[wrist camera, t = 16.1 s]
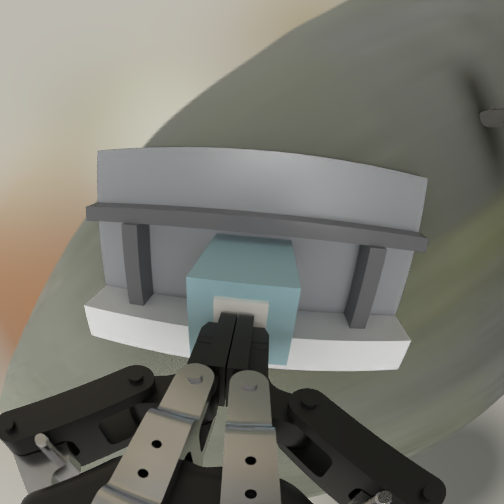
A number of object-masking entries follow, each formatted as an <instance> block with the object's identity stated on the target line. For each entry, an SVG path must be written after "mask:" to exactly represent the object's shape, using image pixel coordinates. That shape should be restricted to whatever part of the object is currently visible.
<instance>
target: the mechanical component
mask: <svg viewBox="0 0 504 504" xmlns="http://www.w3.org/2000/svg"><path fill="white" fill-rule="evenodd" d="M479 117H480V121H481V123H482V125H483V126H485V127H504V109H489V110H486V111H482V112H481V113H480V114H479Z"/></svg>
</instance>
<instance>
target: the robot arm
mask: <svg viewBox="0 0 504 504" xmlns="http://www.w3.org/2000/svg"><path fill="white" fill-rule="evenodd" d="M253 324H254V316H252V315H242V314H238V318H237V314H232V313H224V312H221V314H220V317H219V320H218V323H216V322H209V321H208V322H207V323H206V324H205V325H204V326H202V327H201V330H200V332H199V335H198V337H197V340H196V342H195V345H194V347H193V350H192V353H191V355H190V358H189V360H188V363H187V365H184V366H182V367H181V368H180V369H179V370H178V371H177V373H176V374H174V375H169V376H154V374H153V372H152V371H151V370H150V369H149V368H147V367H145V366H141V365H133V366H129V367H126V368H124V369H121V370H119V371H116V372H114V373H112V374H109V375H107V376H104V377H102V378H99V379H97V380H94V381H92V382H89V383H87V384H84V385H81V386H79V387H76V388H74V389H71V390H68V391H66V392H63V393H60V394H57V395H55V396H52V397H49V398H46V399H43V400H40V401H38V402H35V403H32V404H29V405H26V406H23V407H20V408H16V409H13V410H10V411H7V412H4V413H2V414H1V415H0V439H1V440H2V441H3V442H4V443H5V444H6V445H7V446H8V448H9V449H10V450H11V451H12V453H13V454H14V457H15V460H16V463H17V466H18V469H19V471H20V474H21V477H22V479H23V482H24V484H25V487H26V489H27V492H28V495H27V496H26V497H25V498H24V500H23V501H22V503H21V504H313V503H312V502H311V501H310V500H309V499H308V498H307V497H306V496H305V495H304V494H303V493H302V492H301V491H300V490H299V489H297V488H296V487H295V486H293V485H292V484H290V483H288V482H287V481H285V480H283V479H280V478H279V467H278V453H277V444H278V446H279V448H280V449H281V450H282V451H283V452H284V453H285V454H286V455H287V456H288V457H289V458H290V459H291V460H292V461H293V462H294V463H295V464H296V465H297V466H298V467H299V468H300V469H301V470H302V471H303V472H304V473H305V474H306V475H307V476H308V477H309V478H310V479H312V480H313V481H314V482H315V483H316V484H317V485H318V486H319V487H320V488H321V489H323V490H324V491H325V492H326V493H327V494H328V495H329V496H331V497H332V498H333V499H334V500H335V501H337V502H338V503H339V504H442V503H443V501H444V499H445V496H446V488H445V485H444V483H443V482H442V481H441V480H440V479H439V478H437V477H436V476H434V475H432V474H431V473H429V472H428V471H426V470H425V469H423V468H422V467H420V466H419V465H417V464H416V463H414V462H413V461H411V460H410V459H408V458H407V457H405V456H404V455H403V454H401V453H400V452H398V451H397V450H395V449H394V448H393V447H391V446H390V445H389V444H387V443H386V442H384V441H383V440H382V439H380V438H379V437H378V436H376V435H375V434H374V433H372V432H371V431H370V430H368V429H367V428H366V427H364V426H363V425H362V424H360V423H359V422H358V421H356V420H355V419H354V418H353V417H351V416H350V415H349V414H347V413H346V412H345V411H344V410H342V409H341V408H340V407H339V406H337V405H336V404H335V403H334V402H332V401H331V400H330V399H329V398H327V397H326V396H325V395H324V394H323V393H321V392H319V391H317V390H314V389H309V388H305V389H300V390H297V391H295V392H294V393H293V394H291V393H288V392H285V391H282V390H279V389H278V388H276V387H275V386H273V385H272V383H271V382H270V380H269V378H268V361H269V334H268V332H267V331H266V329H265V328H262V327H253ZM225 400H226V407H228V408H227V421H226V428H225V441H224V454H223V467H202V465H203V457H204V453H205V450H206V447H207V444H208V441H209V438H210V435H211V432H212V429H213V426H214V422H215V416H216V414H217V409H218V406H224V405H225ZM127 446H128V447H127ZM125 447H127V449H126V451H125V453H124V455H122V456H119V457H116V458H113V459H111V460H109V461H107V462H105V463H103V464H101V465H99V466H96V467H94V468H92V469H90V470H88V471H85V472H83V473H81V474H80V472H81V466H84V465H86V464H89V463H91V462H94V461H96V460H98V459H101V458H103V457H105V456H108V455H110V454H112V453H114V452H116V451H119V450H121V449H123V448H125Z"/></svg>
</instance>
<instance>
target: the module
mask: <svg viewBox="0 0 504 504" xmlns="http://www.w3.org/2000/svg"><path fill="white" fill-rule="evenodd" d="M186 289H187V313H188V331H189V345H190V354H191V353H192V350H193V347H194V345H195V342H196V340H197V337H198V335H199V332H200V330H201V327H202V326H204V325H205V324H206V323H207V322H208V321H209V322H216V323H218V320H219V317H220V314H221V312H224V313H232V314H237V318H238V314H242V315H252V316H254V324H253V327H262V328H265V329H266V331H267V332H268V334H269V361H268V364H274V365H287V361H288V356H289V351H290V346H291V341H292V336H293V331H294V326H295V320H296V315H297V309H298V304H299V298H300V292H301V286H300V281H299V276H298V270H297V265H296V260H295V255H294V251H293V246H292V241H291V240H283V239H273V238H262V237H251V236H240V235H229V234H216V235H215V237H214V238H213V239H212V241H211V242H210V244H209V245H208V246H207V248H206V249H205V251H204V252H203V253H202V255H201V256H200V258H199V259H198V261H197V262H196V263H195V265H194V266H193V268H192V269H191V271H190V272H189V274H188V275H187V276H186Z"/></svg>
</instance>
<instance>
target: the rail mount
mask: <svg viewBox="0 0 504 504" xmlns="http://www.w3.org/2000/svg"><path fill="white" fill-rule="evenodd" d="M97 160H98V161H97V191H98V192H97V193H98V203H95V204H92V205H90V206H87V207H86V217H87V220H90V221H99V230H100V242H101V251H102V260H103V268H104V275H105V282H106V286H105V287H104V288H102V289H101V290H100V291H99V292H98V293H97V294H96V295H95V296H93V297H92V298H91V299H90V300H89V301H88V302H87V303H86V304H85V305H84V308H85V312H86V316H87V320H88V324H89V327H90V331H91V335H93V336H97V337H100V338H104V339H107V340H111V341H115V342H119V343H123V344H127V345H131V346H135V347H139V348H143V349H148V350H152V351H157V352H162V353H167V354H172V355H177V356H182V357H188V358H190V355H191V354H190V345H189V331H188V313H187V289H186V276H187V275H188V274H189V272H190V271H191V269H192V268H193V266H194V265H195V263H196V262H197V261H198V259H199V258H200V256H201V255H202V253H203V252H204V251H205V249H206V248H207V246H208V245H209V244H210V242H211V241H212V239H213V238H214V237H215V235H216V234H229V235H240V236H251V237H262V238H273V239H283V240H291V241H292V246H293V251H294V255H295V260H296V265H297V270H298V276H299V281H300V286H301V292H300V298H299V304H298V309H297V315H296V320H295V326H294V331H293V336H292V341H291V346H290V351H289V356H288V361H287V365H274V364H268V368H276V369H291V370H313V371H372V370H393V369H398V368H399V366H400V364H401V362H402V360H403V357H404V355H405V353H406V351H407V349H408V347H409V344H410V342H411V339H410V338H409V336H408V335H407V333H406V332H405V330H404V328H403V327H402V325H401V324H400V322H399V321H398V319H397V318H396V316H395V314H396V311H397V308H398V305H399V302H400V299H401V296H402V293H403V290H404V287H405V283H406V280H407V276H408V273H409V269H410V266H411V262H412V258H413V254H414V251H417V252H425V253H426V249H427V245H428V241H429V238H427V237H425V236H424V235H422V234H421V233H419V228H420V223H421V218H422V213H423V207H424V201H425V195H426V189H427V181H428V179H427V178H424V177H420V176H416V175H412V174H408V173H403V172H399V171H395V170H390V169H386V168H381V167H376V166H371V165H366V164H360V163H355V162H349V161H343V160H337V159H331V158H324V157H317V156H309V155H302V154H293V153H284V152H274V151H262V150H249V149H233V148H209V147H151V148H128V149H113V150H100V151H98V158H97Z"/></svg>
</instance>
